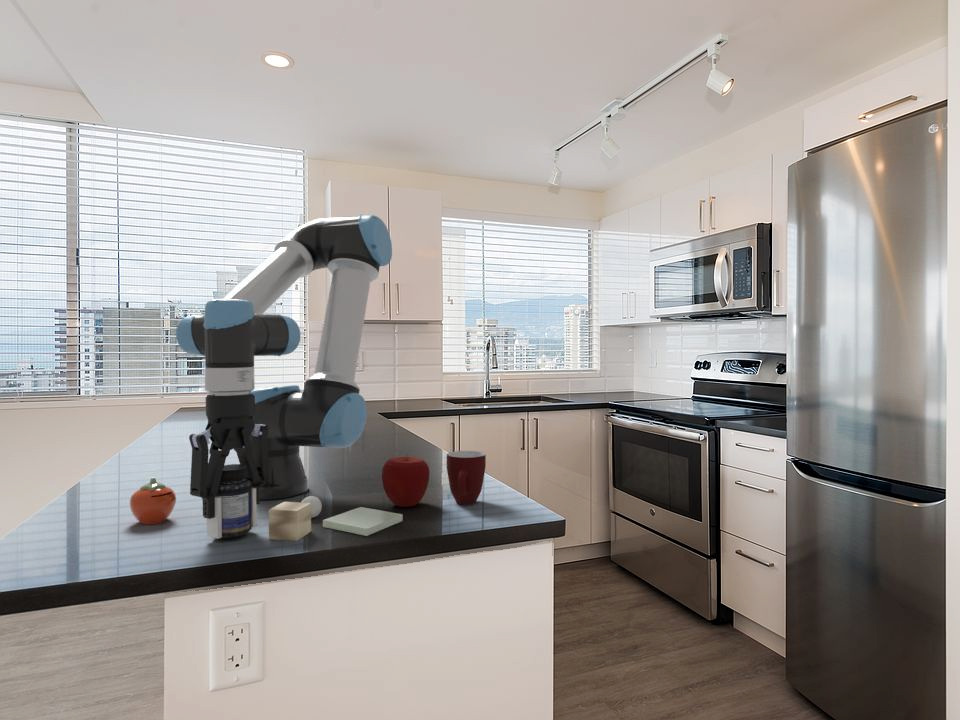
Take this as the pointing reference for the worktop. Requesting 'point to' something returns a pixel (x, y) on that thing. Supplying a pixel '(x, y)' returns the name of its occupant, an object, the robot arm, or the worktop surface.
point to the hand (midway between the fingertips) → (232, 530)
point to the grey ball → (313, 505)
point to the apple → (405, 480)
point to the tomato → (152, 503)
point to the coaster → (362, 521)
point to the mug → (466, 475)
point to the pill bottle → (235, 501)
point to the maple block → (289, 521)
